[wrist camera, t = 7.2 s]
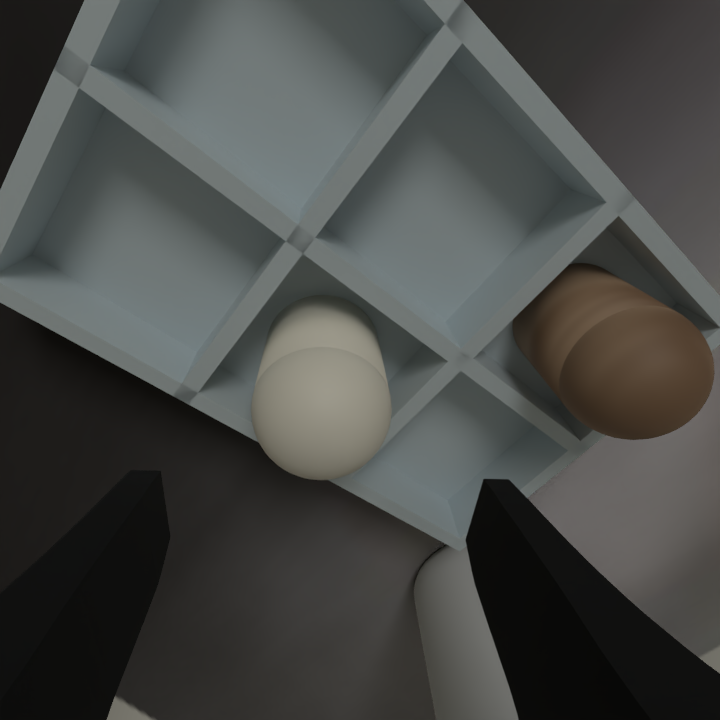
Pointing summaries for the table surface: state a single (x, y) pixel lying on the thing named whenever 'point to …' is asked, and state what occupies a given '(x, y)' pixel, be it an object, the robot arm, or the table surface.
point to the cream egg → (321, 389)
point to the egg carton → (325, 221)
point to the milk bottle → (459, 642)
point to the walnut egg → (615, 354)
